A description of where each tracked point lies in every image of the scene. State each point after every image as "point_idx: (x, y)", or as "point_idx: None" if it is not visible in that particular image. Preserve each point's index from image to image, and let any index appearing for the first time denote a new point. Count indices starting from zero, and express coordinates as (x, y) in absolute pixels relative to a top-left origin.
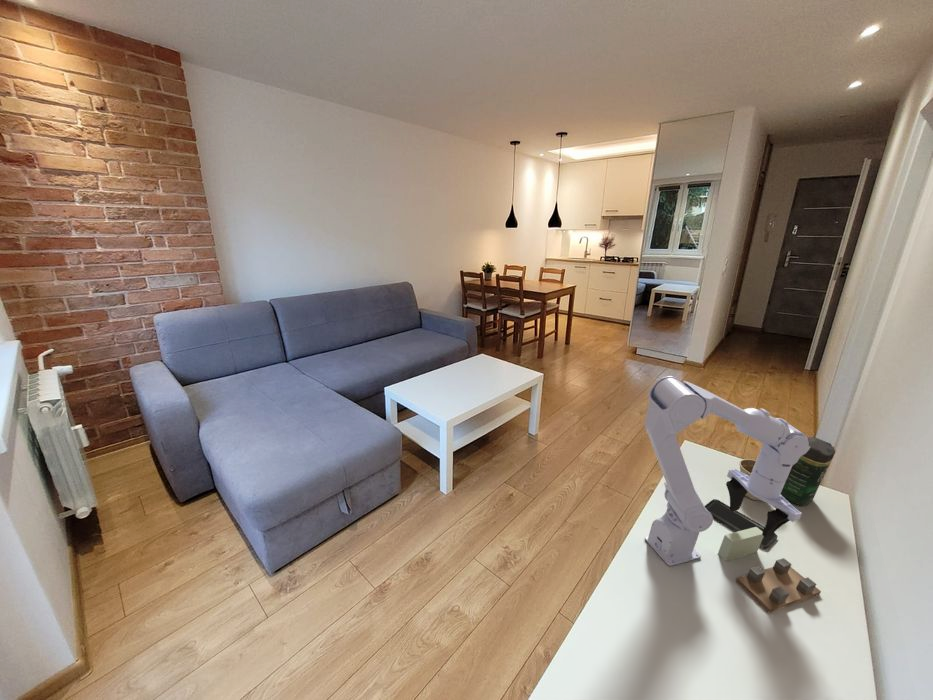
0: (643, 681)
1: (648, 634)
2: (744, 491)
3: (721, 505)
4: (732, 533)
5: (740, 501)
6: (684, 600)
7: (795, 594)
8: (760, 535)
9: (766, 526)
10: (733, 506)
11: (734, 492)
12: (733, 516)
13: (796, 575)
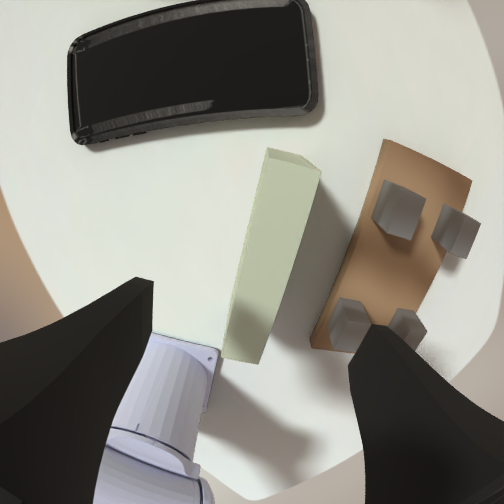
0: (292, 482)
1: (268, 469)
2: (60, 428)
3: (97, 46)
4: (230, 327)
5: (117, 341)
6: (266, 431)
7: (431, 261)
8: (310, 200)
9: (367, 438)
10: (137, 365)
11: (93, 489)
12: (150, 52)
13: (425, 176)
